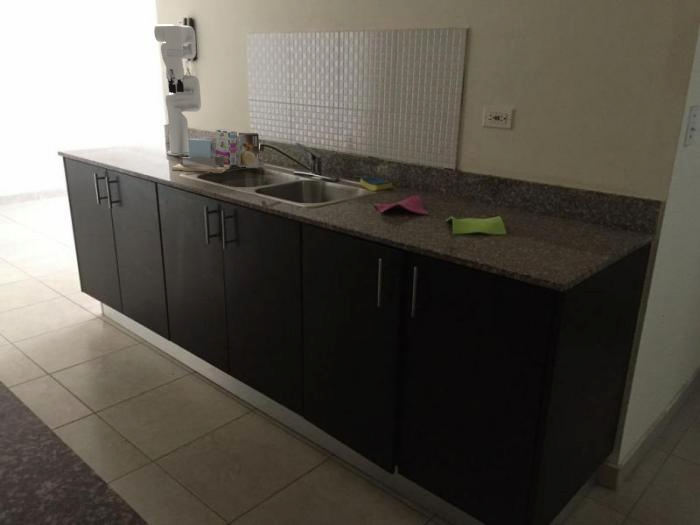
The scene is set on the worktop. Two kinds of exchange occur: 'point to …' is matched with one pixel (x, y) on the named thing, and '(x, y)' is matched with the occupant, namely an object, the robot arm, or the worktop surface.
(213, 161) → the clear rectangular tray
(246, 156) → the coffee box
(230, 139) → the candy bar box
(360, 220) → the worktop surface
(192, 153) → the door panel
